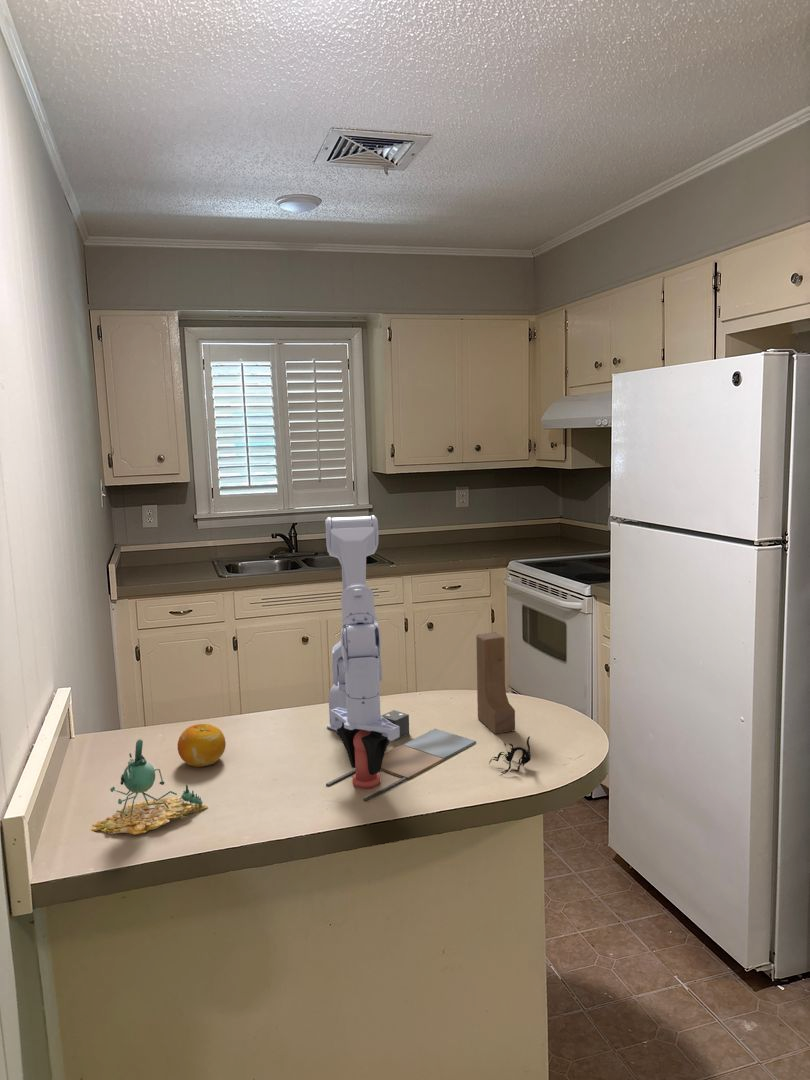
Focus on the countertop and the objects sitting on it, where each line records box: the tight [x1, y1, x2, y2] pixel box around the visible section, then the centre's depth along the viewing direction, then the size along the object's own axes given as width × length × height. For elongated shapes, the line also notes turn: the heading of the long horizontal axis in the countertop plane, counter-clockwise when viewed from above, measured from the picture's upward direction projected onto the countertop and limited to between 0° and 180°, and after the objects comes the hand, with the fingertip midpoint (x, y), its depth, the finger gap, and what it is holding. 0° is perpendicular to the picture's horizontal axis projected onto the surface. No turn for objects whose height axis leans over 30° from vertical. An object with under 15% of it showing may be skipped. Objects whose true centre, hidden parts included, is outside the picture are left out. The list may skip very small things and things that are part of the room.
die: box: [381, 709, 410, 741], centre depth 156 cm, size 4×4×4 cm
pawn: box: [351, 730, 381, 790], centre depth 135 cm, size 5×5×10 cm
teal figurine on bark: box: [90, 738, 209, 835], centre depth 124 cm, size 10×18×15 cm, turn 100°
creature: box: [488, 736, 532, 776], centre depth 140 cm, size 8×5×8 cm
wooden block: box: [475, 632, 516, 735], centre depth 158 cm, size 9×4×18 cm, turn 17°
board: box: [325, 728, 477, 803], centre depth 144 cm, size 10×30×1 cm, turn 139°
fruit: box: [177, 723, 227, 768], centre depth 146 cm, size 8×9×8 cm
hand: (365, 769), depth 136 cm, fingers closed on pawn, 4 cm apart
